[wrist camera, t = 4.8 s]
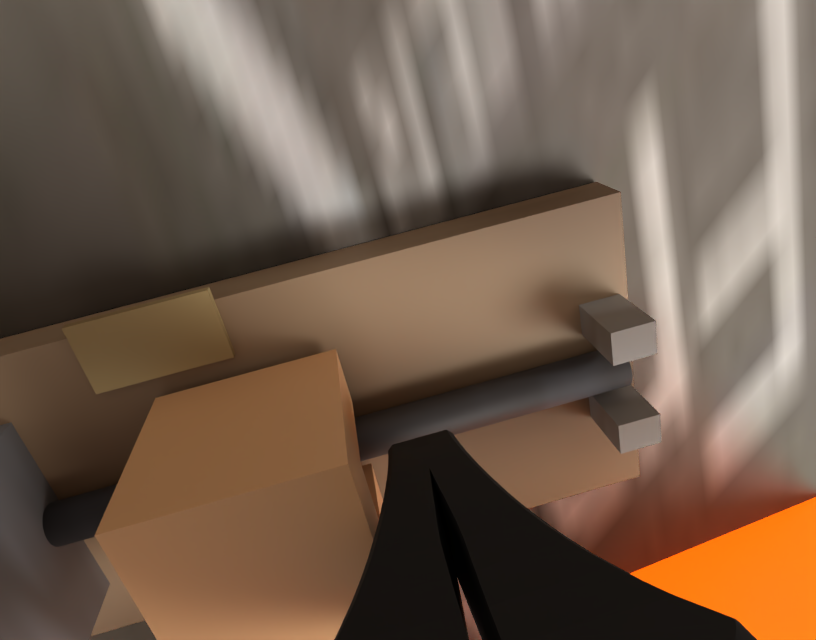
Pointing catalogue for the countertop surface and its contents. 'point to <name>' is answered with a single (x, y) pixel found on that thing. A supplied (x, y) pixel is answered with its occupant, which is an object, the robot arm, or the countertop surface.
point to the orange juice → (752, 574)
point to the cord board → (363, 370)
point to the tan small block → (246, 507)
